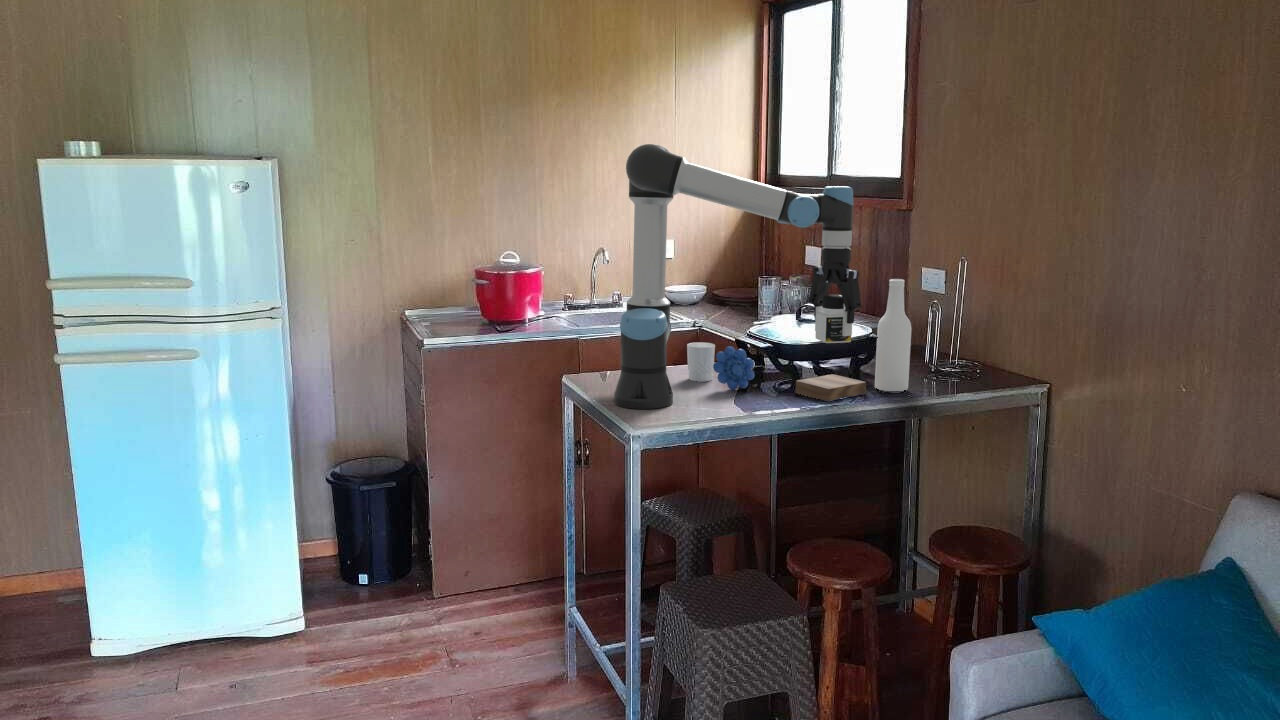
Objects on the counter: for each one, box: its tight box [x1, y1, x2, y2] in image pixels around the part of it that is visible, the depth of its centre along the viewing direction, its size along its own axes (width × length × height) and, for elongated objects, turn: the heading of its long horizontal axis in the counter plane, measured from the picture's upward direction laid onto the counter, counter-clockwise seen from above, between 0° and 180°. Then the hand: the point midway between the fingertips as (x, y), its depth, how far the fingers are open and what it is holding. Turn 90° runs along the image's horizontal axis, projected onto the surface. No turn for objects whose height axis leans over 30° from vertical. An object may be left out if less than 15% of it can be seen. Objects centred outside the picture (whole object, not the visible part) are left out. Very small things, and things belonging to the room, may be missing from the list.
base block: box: [795, 373, 867, 401], centre depth 252 cm, size 14×12×4 cm
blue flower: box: [713, 345, 756, 390], centre depth 256 cm, size 12×7×12 cm, turn 102°
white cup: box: [686, 341, 716, 383], centre depth 270 cm, size 8×8×10 cm
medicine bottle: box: [815, 294, 852, 344], centre depth 249 cm, size 7×7×12 cm
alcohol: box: [874, 278, 913, 391], centre depth 255 cm, size 9×9×30 cm
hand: (833, 333), depth 249 cm, fingers closed on medicine bottle, 9 cm apart
